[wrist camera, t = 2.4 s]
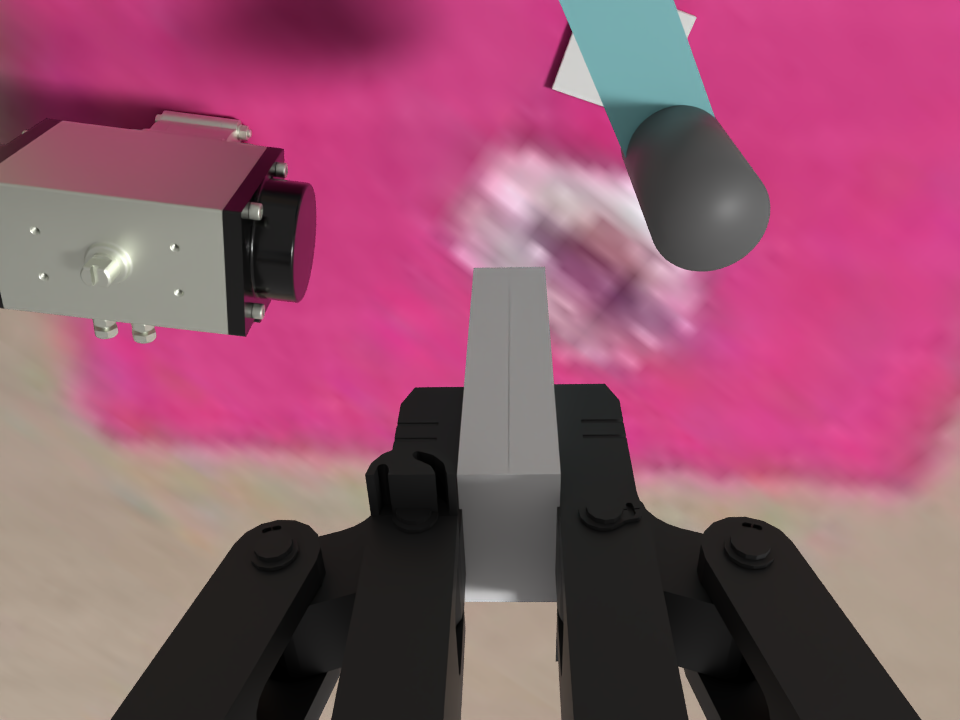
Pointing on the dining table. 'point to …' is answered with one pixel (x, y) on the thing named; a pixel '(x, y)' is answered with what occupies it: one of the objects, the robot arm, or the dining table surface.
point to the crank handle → (670, 133)
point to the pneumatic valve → (152, 225)
